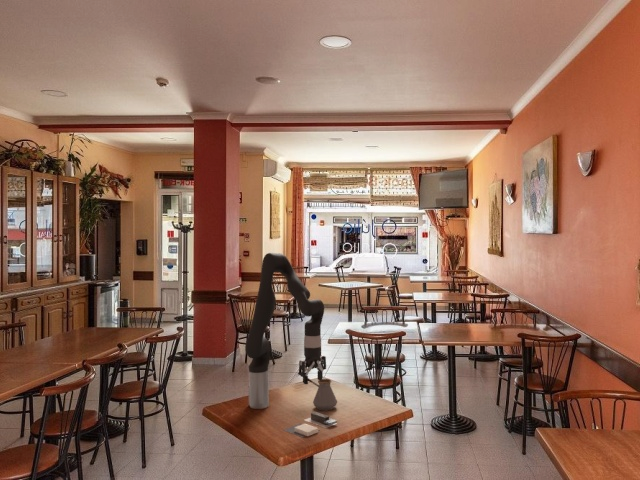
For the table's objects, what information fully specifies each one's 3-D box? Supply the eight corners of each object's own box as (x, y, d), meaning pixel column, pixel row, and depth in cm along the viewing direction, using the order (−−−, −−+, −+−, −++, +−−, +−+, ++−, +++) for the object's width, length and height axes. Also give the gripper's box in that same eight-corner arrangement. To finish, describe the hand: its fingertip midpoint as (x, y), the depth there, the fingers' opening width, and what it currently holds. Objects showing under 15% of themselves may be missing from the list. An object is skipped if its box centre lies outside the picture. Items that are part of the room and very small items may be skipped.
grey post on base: (309, 420, 227) (309, 413, 227) (316, 417, 230) (316, 411, 230) (330, 427, 218) (330, 420, 218) (337, 425, 221) (337, 418, 221)
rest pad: (303, 421, 228) (303, 420, 228) (315, 417, 233) (315, 415, 233) (326, 429, 218) (326, 428, 218) (337, 424, 223) (337, 423, 223)
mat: (283, 431, 217) (283, 429, 217) (300, 424, 224) (300, 423, 224) (302, 439, 208) (302, 437, 208) (320, 431, 215) (320, 430, 215)
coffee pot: (341, 406, 247) (340, 374, 246) (329, 413, 237) (328, 381, 236) (304, 399, 258) (303, 369, 257) (291, 406, 248) (290, 375, 248)
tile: (294, 427, 215) (307, 432, 209) (305, 423, 219) (318, 428, 213) (294, 431, 215) (307, 436, 209) (305, 427, 219) (318, 432, 213)
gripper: (318, 341, 234) (318, 376, 234) (294, 346, 224) (294, 383, 224) (330, 343, 228) (330, 380, 229) (306, 349, 218) (306, 387, 219)
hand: (312, 381), depth 226 cm, fingers open, 8 cm apart
